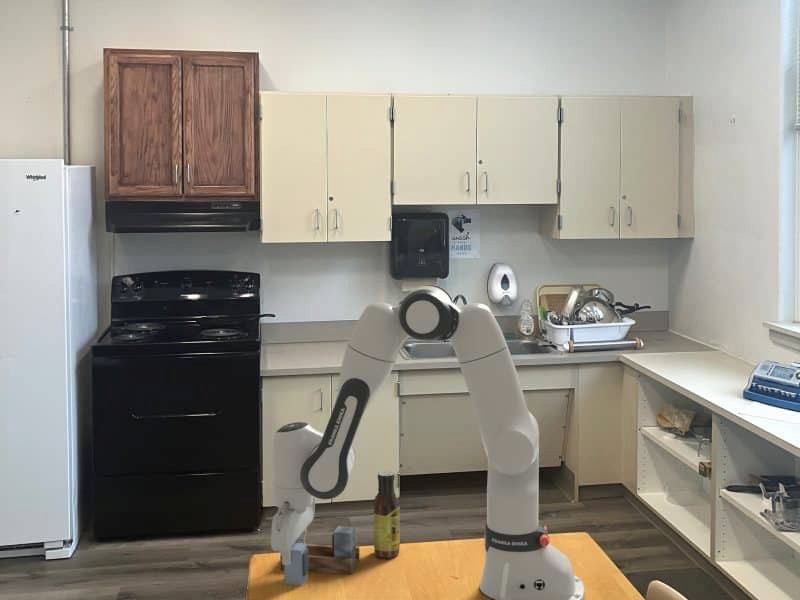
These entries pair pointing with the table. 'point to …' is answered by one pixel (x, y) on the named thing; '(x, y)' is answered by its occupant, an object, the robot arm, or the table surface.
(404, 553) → the table surface
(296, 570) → the blue grey rectangular block
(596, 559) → the table surface
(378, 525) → the sauce bottle
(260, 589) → the table surface
